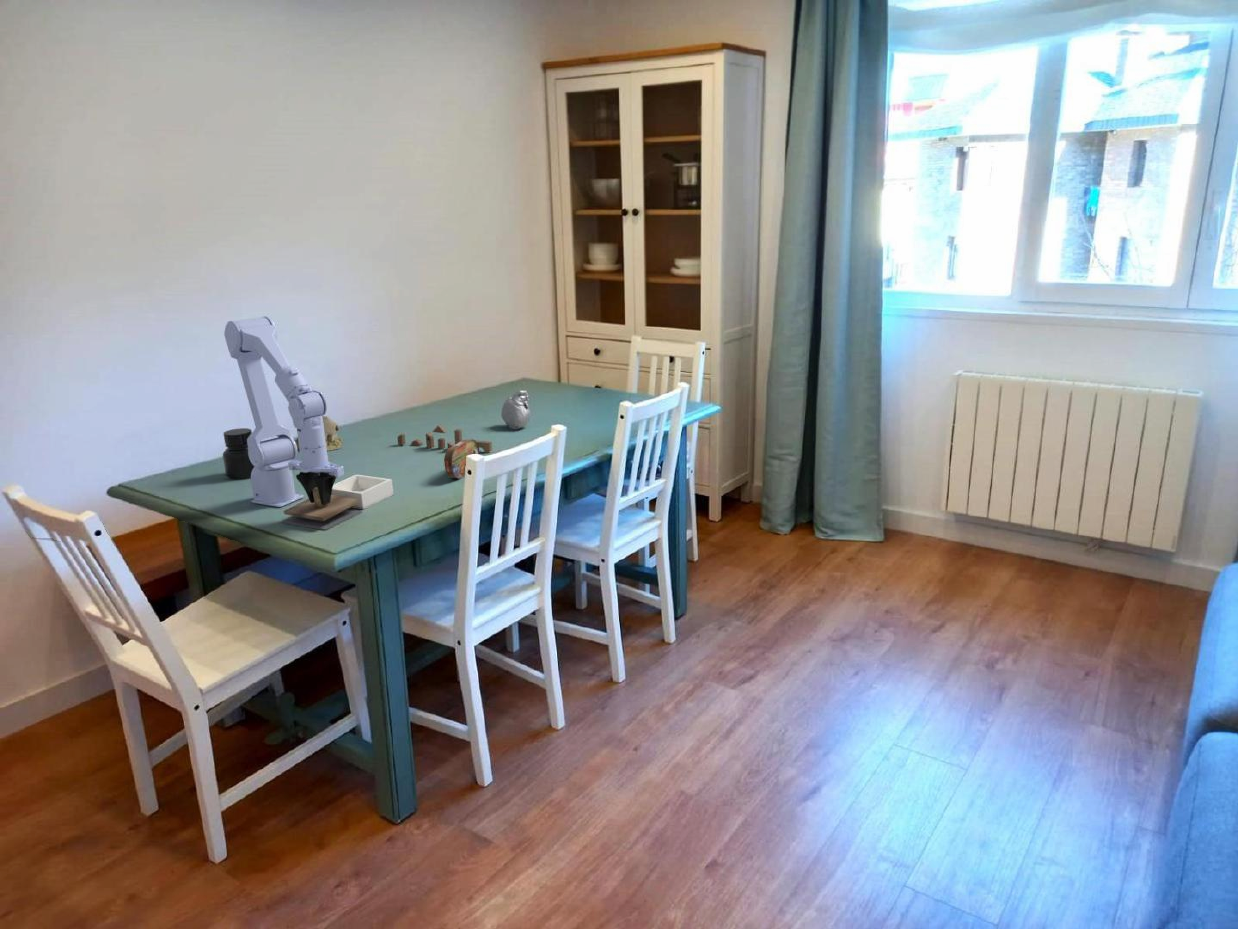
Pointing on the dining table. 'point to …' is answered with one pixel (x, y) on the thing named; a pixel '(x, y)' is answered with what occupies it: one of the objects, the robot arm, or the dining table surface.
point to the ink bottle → (237, 454)
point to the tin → (459, 457)
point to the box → (364, 490)
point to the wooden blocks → (441, 442)
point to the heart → (516, 410)
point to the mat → (323, 524)
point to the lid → (321, 507)
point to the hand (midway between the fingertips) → (320, 502)
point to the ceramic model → (329, 434)
